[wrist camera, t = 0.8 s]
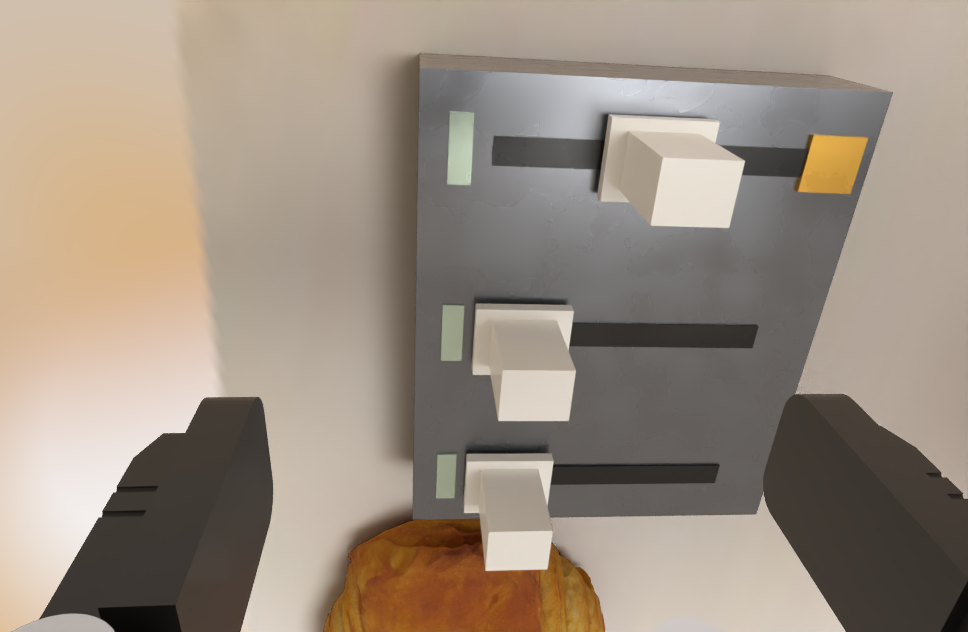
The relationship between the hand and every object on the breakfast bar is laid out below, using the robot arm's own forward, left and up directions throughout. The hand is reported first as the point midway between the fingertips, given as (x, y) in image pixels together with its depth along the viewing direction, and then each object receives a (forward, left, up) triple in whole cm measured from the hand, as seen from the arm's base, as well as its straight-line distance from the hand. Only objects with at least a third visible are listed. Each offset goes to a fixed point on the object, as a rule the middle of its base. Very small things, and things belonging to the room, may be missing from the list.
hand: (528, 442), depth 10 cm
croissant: (-1, +25, -19) cm, 31 cm away
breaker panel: (-6, +6, -18) cm, 20 cm away
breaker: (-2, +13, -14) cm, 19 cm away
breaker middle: (-2, +6, -14) cm, 15 cm away
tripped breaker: (-6, -1, -14) cm, 15 cm away
